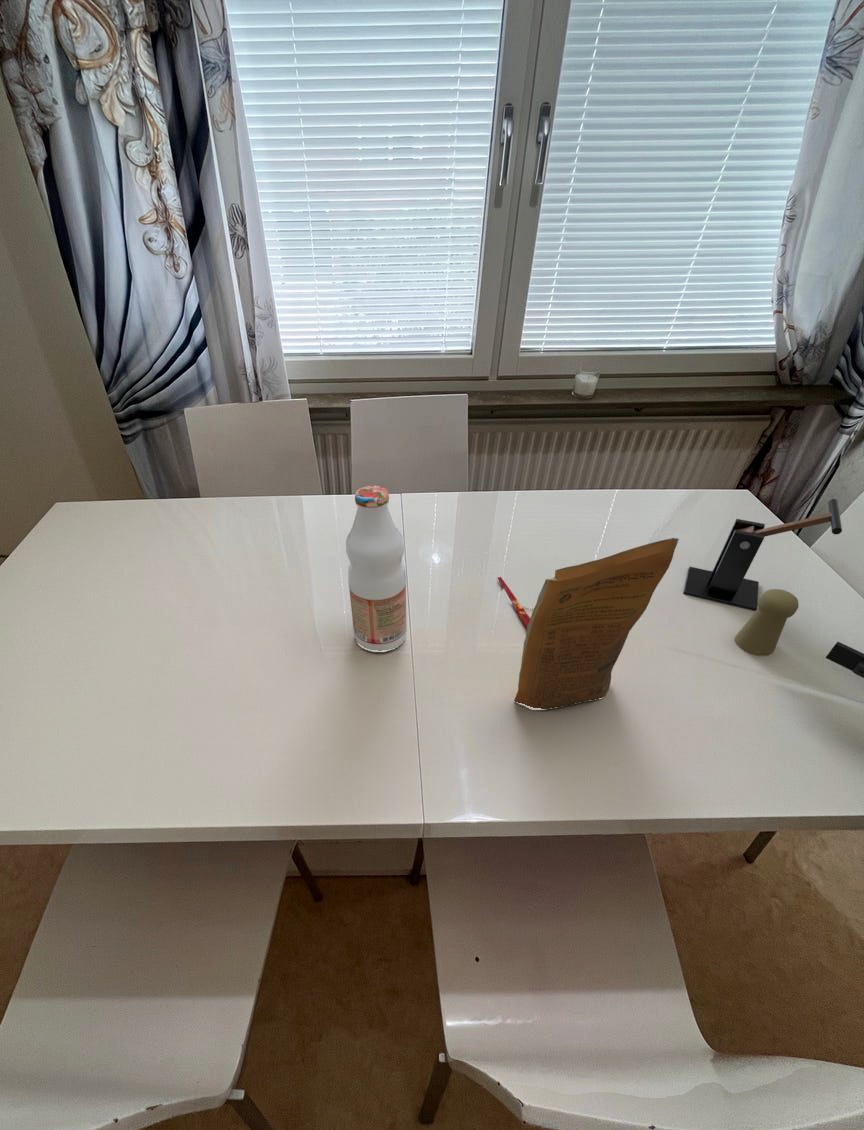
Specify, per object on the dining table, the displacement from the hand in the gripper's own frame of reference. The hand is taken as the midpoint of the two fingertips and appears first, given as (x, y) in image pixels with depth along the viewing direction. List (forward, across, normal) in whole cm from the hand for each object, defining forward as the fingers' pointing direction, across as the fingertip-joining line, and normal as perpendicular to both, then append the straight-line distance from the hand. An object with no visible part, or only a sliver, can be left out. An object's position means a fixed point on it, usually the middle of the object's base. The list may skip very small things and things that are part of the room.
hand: (852, 628), depth 77 cm
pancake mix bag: (+22, -33, -11) cm, 41 cm away
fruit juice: (+52, -47, -10) cm, 71 cm away
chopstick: (+39, -24, -10) cm, 47 cm away
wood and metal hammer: (+16, +12, +3) cm, 21 cm away
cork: (+10, 0, -11) cm, 15 cm away
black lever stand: (+21, +10, -11) cm, 26 cm away
